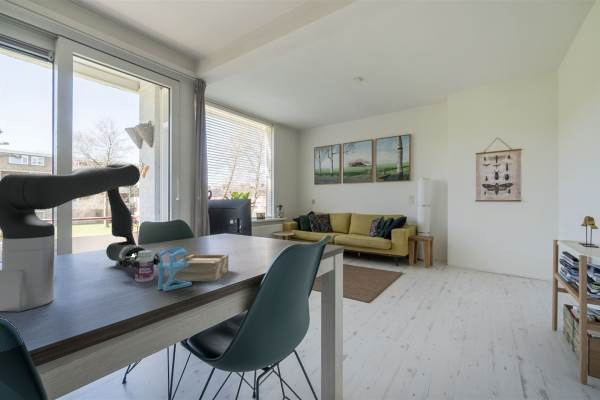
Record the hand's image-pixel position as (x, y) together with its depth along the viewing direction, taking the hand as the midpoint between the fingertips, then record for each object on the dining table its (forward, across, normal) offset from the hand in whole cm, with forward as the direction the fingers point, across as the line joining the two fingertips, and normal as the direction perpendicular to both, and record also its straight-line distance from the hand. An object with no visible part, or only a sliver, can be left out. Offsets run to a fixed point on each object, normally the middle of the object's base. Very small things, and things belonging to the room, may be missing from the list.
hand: (147, 263), depth 86 cm
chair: (+11, +4, +6) cm, 14 cm away
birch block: (+5, +17, +6) cm, 18 cm away
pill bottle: (-3, 0, +6) cm, 7 cm away
